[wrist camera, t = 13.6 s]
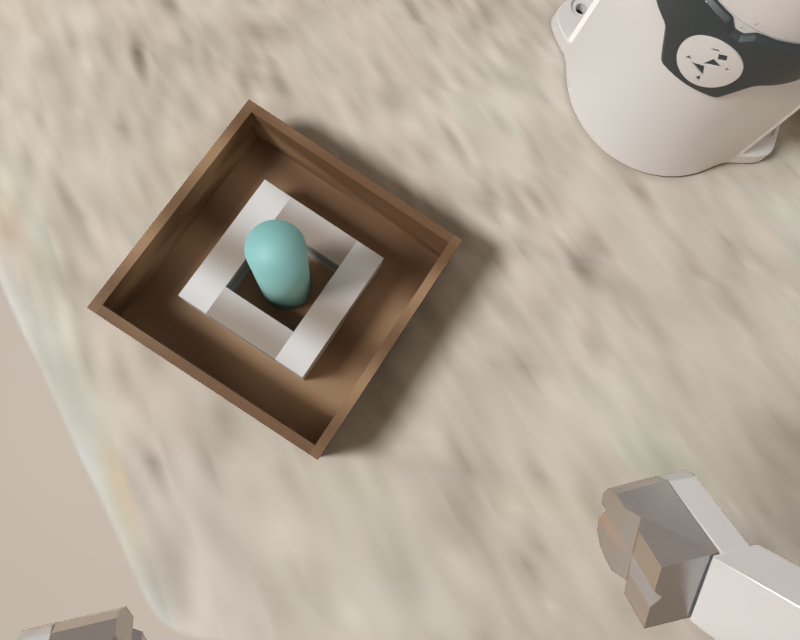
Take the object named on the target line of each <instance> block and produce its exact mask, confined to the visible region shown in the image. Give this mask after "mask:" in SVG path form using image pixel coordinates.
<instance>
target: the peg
mask: <svg viewBox="0 0 800 640" xmlns="http://www.w3.org/2000/svg"><path fill="white" fill-rule="evenodd" d="M244 252H245V257H246V260H247V262H248V264H249V266H250V268H251V270H252V272H253V275H254V277H255V279H256V281H257V283H258V285H259V287H260V289H261V291H262V293H263V295H264V297H265V299H266V300H267V301H268V302H269V303H270V304H271V305H272V306H274V307H276V308H278V309H282V310H291V309H295V308H297V307H299V306H301V305H302V304H303V303H304V302H305V301H306V300H307V298H308V297H309V294H310V291H311V279H310V271H309V263H308V255H307V247H306V241H305V239H304V236H303V234H302V233H301V232H300V230H299V229H298V228H297V227H296V226H294V225H293V224H291V223H289V222H287V221H284V220H277V219H274V220H267V221H264V222H262V223H260V224H258V225H257V226H255V227H254V228H253V229H252V230H251V231H250V233H249V234H248V236H247V238H246V241H245V246H244Z"/></svg>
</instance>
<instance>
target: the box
mask: <svg viewBox="0 0 800 640" xmlns="http://www.w3.org/2000/svg"><path fill="white" fill-rule="evenodd" d="M274 219H277V220H284V221H287V222H289V223H291V224H293V225H294V226H296V227H297V228H298V229H299V230H300V232H301V233H302V234H303V236H304V239H305V241H306V247H307V255H308V263H309V271H310V279H311V291H310V294H309V297H308V298H307V300H306V301H305V302H304V303H303V304H302V305H301V306H299V307H297V308H295V309H291V310H282V309H278V308H276V307H274V306H272V305H271V304H270V303H269V302H268V301H267V300H266V299H265V297H264V295H263V293H262V291H261V289H260V287H259V285H258V283H257V281H256V279H255V277H254V275H253V272H252V270H251V268H250V266H249V264H248V262H247V260H246V257H245V252H244V246H245V241H246V238H247V236H248V234H249V233H250V231H251V230H252V229H253V228H254V227H255V226H257V225H258V224H260V223H262V222H264V221H267V220H274ZM461 241H462V240H461V239H460V238H458V237H457V236H455V235H454V234H452V233H451V232H449V231H448V230H446V229H445V228H443V227H442V226H440V225H439V224H437V223H435V222H434V221H432V220H431V219H429V218H428V217H426V216H425V215H423V214H422V213H420V212H419V211H417V210H416V209H414V208H413V207H411V206H410V205H408V204H407V203H405V202H404V201H402V200H401V199H399V198H398V197H396V196H395V195H393V194H392V193H390V192H389V191H387V190H385V189H384V188H382V187H381V186H379V185H378V184H376V183H375V182H373V181H372V180H370V179H369V178H367V177H366V176H364V175H363V174H361V173H360V172H358V171H357V170H355V169H354V168H352V167H351V166H349V165H348V164H346V163H345V162H343V161H342V160H340V159H338V158H337V157H335V156H334V155H332V154H331V153H329V152H328V151H326V150H325V149H323V148H322V147H320V146H319V145H317V144H316V143H314V142H313V141H311V140H310V139H308V138H307V137H305V136H304V135H302V134H301V133H299V132H298V131H296V130H295V129H293V128H292V127H290V126H288V125H287V124H285V123H284V122H282V121H281V120H279V119H278V118H276V117H275V116H273V115H272V114H270V113H269V112H267V111H266V110H264V109H263V108H261V107H260V106H258V105H257V104H255V103H254V102H252V101H251V100H248V101H247V103H246V104H245V105H244V106H243V108H242V109H241V110H240V112H239V113H238V114H237V115H236V117H235V118H234V119H233V121H232V122H231V123H230V124H229V126H228V127H227V128H226V130H225V131H224V132H223V133H222V135H221V136H220V137H219V139H218V140H217V141H216V142H215V144H214V145H213V146H212V148H211V149H210V150H209V151H208V153H207V154H206V155H205V157H204V158H203V159H202V160H201V162H200V163H199V164H198V166H197V167H196V168H195V169H194V171H193V172H192V173H191V175H190V176H189V177H188V178H187V180H186V181H185V182H184V184H183V185H182V186H181V187H180V189H179V190H178V191H177V193H176V194H175V195H174V196H173V198H172V199H171V200H170V202H169V203H168V204H167V205H166V207H165V208H164V209H163V211H162V212H161V213H160V214H159V216H158V217H157V218H156V220H155V221H154V222H153V223H152V225H151V226H150V227H149V229H148V230H147V231H146V232H145V234H144V235H143V236H142V238H141V239H140V240H139V241H138V243H137V244H136V245H135V247H134V248H133V249H132V250H131V252H130V253H129V254H128V256H127V257H126V258H125V259H124V261H123V262H122V263H121V265H120V266H119V267H118V268H117V270H116V271H115V272H114V274H113V275H112V276H111V277H110V279H109V280H108V281H107V283H106V284H105V285H104V286H103V288H102V289H101V290H100V292H99V293H98V294H97V295H96V297H95V298H94V299H93V301H92V302H91V303H90V304H89V306H88V307H87V308H89V309H90V310H92V311H93V312H95V313H96V314H98V315H99V316H101V317H102V318H104V319H105V320H107V321H108V322H110V323H111V324H113V325H114V326H116V327H117V328H119V329H120V330H122V331H123V332H125V333H126V334H128V335H129V336H131V337H132V338H134V339H135V340H137V341H138V342H140V343H142V344H143V345H145V346H146V347H148V348H149V349H151V350H152V351H154V352H155V353H157V354H158V355H160V356H161V357H163V358H164V359H166V360H167V361H169V362H170V363H172V364H173V365H175V366H176V367H178V368H179V369H181V370H182V371H184V372H185V373H187V374H188V375H190V376H191V377H193V378H195V379H196V380H198V381H199V382H201V383H202V384H204V385H205V386H207V387H208V388H210V389H211V390H213V391H214V392H216V393H217V394H219V395H220V396H222V397H223V398H225V399H226V400H228V401H229V402H231V403H232V404H234V405H235V406H237V407H238V408H240V409H241V410H243V411H244V412H246V413H248V414H249V415H251V416H252V417H254V418H255V419H257V420H258V421H260V422H261V423H263V424H264V425H266V426H267V427H269V428H270V429H272V430H273V431H275V432H276V433H278V434H279V435H281V436H282V437H284V438H285V439H287V440H288V441H290V442H291V443H293V444H294V445H296V446H298V447H299V448H301V449H302V450H304V451H305V452H307V453H308V454H310V455H311V456H313V457H314V458H316V459H317V460H318V459H319V457H320V456H321V454H322V453H323V451H324V450H325V448H326V447H327V445H328V444H329V442H330V441H331V439H332V438H333V436H334V435H335V433H336V431H337V430H338V428H339V427H340V425H341V424H342V422H343V421H344V419H345V418H346V416H347V415H348V413H349V412H350V410H351V409H352V407H353V406H354V404H355V403H356V401H357V399H358V398H359V396H360V395H361V393H362V392H363V390H364V389H365V387H366V386H367V384H368V383H369V381H370V380H371V378H372V377H373V375H374V374H375V372H376V371H377V369H378V368H379V366H380V364H381V363H382V361H383V360H384V358H385V357H386V355H387V354H388V352H389V351H390V349H391V348H392V346H393V345H394V343H395V342H396V340H397V339H398V337H399V336H400V334H401V332H402V331H403V329H404V328H405V326H406V325H407V323H408V322H409V320H410V319H411V317H412V316H413V314H414V313H415V311H416V310H417V308H418V307H419V305H420V304H421V302H422V301H423V299H424V297H425V296H426V294H427V293H428V291H429V290H430V288H431V287H432V285H433V284H434V282H435V281H436V279H437V278H438V276H439V275H440V273H441V272H442V270H443V269H444V267H445V265H446V264H447V262H448V261H449V259H450V258H451V256H452V255H453V253H454V252H455V250H456V249H457V247H458V246H459V244H460V243H461Z"/></svg>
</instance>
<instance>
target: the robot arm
mask: <svg viewBox="0 0 800 640" xmlns="http://www.w3.org/2000/svg"><path fill="white" fill-rule="evenodd" d="M576 10H580V11H581V12H582V13H583V14H579V13H578V12H577V11H576ZM551 26H552V30H553V33H554V35H555V38H556V40H557V42H558V44H559V46H560V48H561V50H562V52H563V54H564V57H565V62H566V76H567V87H568V92H569V96H570V100H571V103H572V106H573V109H574V111H575V113H576V115H577V117H578V119H579V121H580V123H581V124H582V126H583V128H584V129H585V130H586V132H587V133H588V134H589V136H590V137H591V138H592V139H593V140H594V141H595V142H596V144H597V145H598V146H600V147H601V148H602V149H603V150H604V151H605V152H606V153H608V154H609V155H610V156H612V157H613V158H615V159H616V160H618V161H619V162H621V163H623V164H625V165H627V166H629V167H631V168H633V169H636V170H639V171H642V172H645V173H649V174H653V175H660V176H684V175H690V174H694V173H698V172H701V171H704V170H706V169H708V168H711V167H713V166H716V165H719V164H722V163H726V162H731V163H755V162H759V161H761V160H763V159H764V158H765V157H766V156H767V155H769V154H770V153H771V152H772V150H773V148H774V146H775V143H776V139H777V136H778V133H779V129H780V126H781V123H782V122H783V121H785V120H786V119H787V118H788V117H790V116H791V115H792V114H793V113H795V112H796V111H797V110H798V109H800V0H566V1H565V2H564V3H563V4H562V5H561V6H560V7H559V9H558V10H557V11H556V12H555V14H554V15H553V17H552V20H551ZM602 504H603V506H604V507H605V509H606V511H605V512H604V513H603V514H602V515H601V516H600V517H599V520H598V528H597V532H598V537H599V543H600V547H601V549H602V552H603V554H604V557H605V559H606V561H607V563H608V564H609V566H610V568H611V570H612V571H614V572H615V573H617V574H618V575H620V576H621V577H623V578H625V579H626V584H625V592H624V594H625V595H626V597H627V599H628V601H629V603H630V604H631V606H632V608H633V610H634V612H635V613H636V615H637V617H638V619H639V620H640V622H641V624H642V626H643V628H648V627H652V626H656V625H660V624H664V623H669V622H673V621H677V620H681V619H685V618H689V617H691V618H690V620H691V621H692V622H693V623H695V624H696V625H697V626H698V627H700V628H701V629H702V630H704V631H705V632H706V633H708V634H709V635H710V636H711V637H713V638H714V639H715V640H800V567H799V566H797V565H795V564H793V563H791V562H790V561H788V560H786V559H784V558H782V557H780V556H779V555H777V554H775V553H773V552H771V551H769V550H768V549H766V548H764V547H762V546H760V545H758V544H756V545H751V546H750V545H749V544H748V543H747V541H746V540H745V539H744V538H743V536H742V535H741V534H740V533H739V531H738V530H737V529H736V527H735V526H734V525H733V524H732V522H731V521H730V520H729V518H728V517H727V516H726V515H725V513H724V512H723V511H722V509H721V508H720V507H719V506H718V504H717V503H716V502H715V501H714V499H713V498H712V497H711V495H710V494H709V493H708V492H707V490H706V489H705V488H704V486H703V485H702V484H701V483H700V481H699V480H698V479H697V477H696V476H695V475H694V474H693V473H691V472H690V471H688V470H681V471H677V472H673V473H669V474H665V475H662V476H654V477H651V478H647V479H643V480H639V481H635V482H632V483H628V484H624V485H620V486H616V487H612V488H609V489H607V490H606V491H605V492H604V493H603V497H602ZM132 627H133V616H132V614H131V613H130V611H129V610H128V608H127V607H126V606H125V607H121V608H116V609H112V610H108V611H104V612H99V613H95V614H91V615H87V616H82V617H78V618H74V619H70V620H65V621H61V622H55V623H50V624H47V625H42V626H38V627H35V628H30V629H27V630H22V632H21V634H20V635H19V637H18V639H17V640H147V639H146V638H145V636H144V634H143V632H142V631H139V630H136V629H133V628H132Z"/></svg>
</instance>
